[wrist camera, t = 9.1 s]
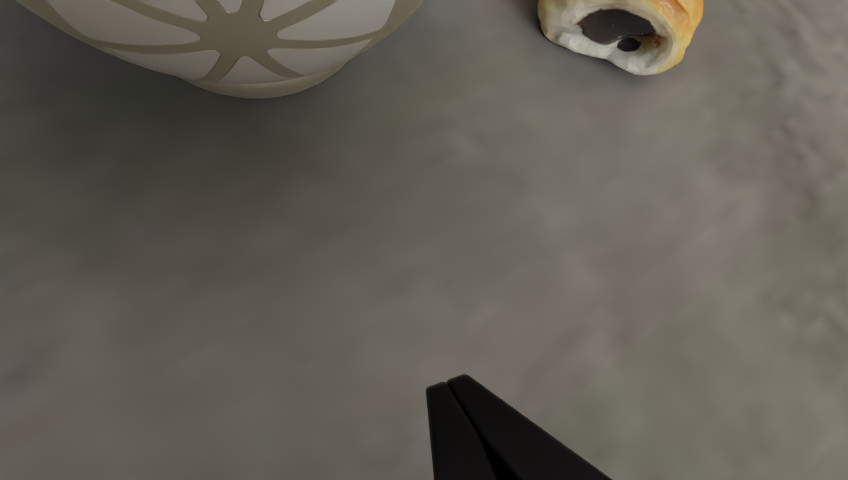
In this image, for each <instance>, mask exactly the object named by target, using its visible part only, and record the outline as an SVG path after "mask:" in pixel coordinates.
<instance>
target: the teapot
mask: <svg viewBox="0 0 848 480" xmlns="http://www.w3.org/2000/svg"><path fill="white" fill-rule="evenodd" d="M16 1H17V2H18V3H20V4H21V5H23V6H24V7H25V8H27V9H28V10H30V11H31V12H33V13H34V14H36V15H38V16H39V17H41V18H42V19H44V20H45V21H47V22H49V23H50V24H52V25H54V26H55V27H57V28H59V29H60V30H62V31H64V32H66V33H67V34H69V35H71V36H73V37H75V38H76V39H78V40H80V41H82V42H85V43H87V44H89V45H91V46H93V47H95V48H97V49H99V50H101V51H103V52H105V53H107V54H110V55H112V56H115V57H117V58H120V59H122V60H124V61H127V62H130V63H133V64H136V65H139V66H142V67H145V68H147V69H150V70H154V71H157V72H161V73H165V74H168V75H173V76H177V77H179V78H181V79H183V80H185V81H186V82H188V83H191V84H193V85H195V86H197V87H200V88H202V89H205V90H208V91H211V92H215V93H218V94H222V95H227V96H232V97H240V98H253V99H258V98H274V97H281V96H286V95H290V94H294V93H298V92H301V91H303V90H306V89H308V88H311V87H313V86H315V85H317V84H319V83H321V82H323V81H325V80H326V79H328V78H329V77H331V76H332V75H334V74H335V73H336V72H337V71H339V70H340V69H341V68H342V67H343V66H344V65H345V64H346V63H347V62H348V61H349V60H350V59H352V58H354V57H356V56H358V55H360V54H361V53H363V52H365V51H367V50H368V49H370V48H371V47H373V46H374V45H376V44H377V43H379V42H380V41H381V40H383V39H384V38H386V37H387V36H389V35H390V34H391V33H392V32H393V31H395V30H396V29H397V28H398V27H399V26H401V25H402V24H403V23H404V22H405V21H406V20H407V19H408V18H409V17H410V16H411V15H412V14H413V13H414V12H415V11H416V10H417V9H418V8H419V7H420V6H421V5H422V4H423V2H424V1H425V0H16Z"/></svg>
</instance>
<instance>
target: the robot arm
mask: <svg viewBox="0 0 848 480" xmlns="http://www.w3.org/2000/svg"><path fill="white" fill-rule="evenodd" d="M426 397H427V408H428V419H429V430H430V441H431V452H432V462H433V473H434V480H612V479H611V478H609V477H608V476H606V475H605V474H604V473H602V472H601V471H599V470H598V469H597V468H595V467H594V466H593V465H591V464H590V463H588V462H587V461H586V460H584V459H583V458H582V457H580V456H579V455H577V454H576V453H575V452H573V451H572V450H571V449H569V448H568V447H566V446H565V445H564V444H562V443H561V442H560V441H558V440H557V439H555V438H554V437H553V436H551V435H550V434H548V433H547V432H546V431H544V430H543V429H542V428H540V427H539V426H537V425H536V424H535V423H533V422H532V421H531V420H529V419H528V418H526V417H525V416H524V415H522V414H521V413H520V412H518V411H517V410H515V409H514V408H513V407H511V406H510V405H508V404H507V403H506V402H504V401H503V400H502V399H500V398H499V397H497V396H496V395H495V394H493V393H492V392H491V391H489V390H488V389H486V388H485V387H484V386H482V385H481V384H480V383H478V382H477V381H475V380H474V379H473V378H471V377H470V376H468V375H465V374H463V375H460V376H457V377H454V378H451V379H449V380H448V381H447V382H440V383H437V384H435V385H432V386H429V387H427V389H426Z"/></svg>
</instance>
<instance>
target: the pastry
mask: <svg viewBox="0 0 848 480" xmlns="http://www.w3.org/2000/svg"><path fill="white" fill-rule="evenodd" d="M538 17H539V19H540V22H541V28H542V31H543V33H544V35H545V36H546V37H547V38H548V39H549V40H550V41H552V42H553V43H555V44H558V45H560V46H563V47H566V48H568V49H569V50H571V51H574V52H576V53H581V54H585V55H588V56H591V57H597V58H603V59H606V60H609V61H610V62H612V63H613V64H615V65H616V66H618V67H620V68H622V69H624V70H626V71H628V72H630V73H633V74H635V75H652V74H659V73H662V72H664V71H666V70H668V69H669V68H671V67H673V66H675V65H676V64H677V63H679V62H680V61H681V60H682V59H683V57H684V54H685V49H686V47H687V46H688V45H689V44H690V41H691V38H692V36H693V33H694V31H695V29H696V28H697V26H698V24H699V23H700V21H701V19H702V17H703V0H539V2H538Z"/></svg>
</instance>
